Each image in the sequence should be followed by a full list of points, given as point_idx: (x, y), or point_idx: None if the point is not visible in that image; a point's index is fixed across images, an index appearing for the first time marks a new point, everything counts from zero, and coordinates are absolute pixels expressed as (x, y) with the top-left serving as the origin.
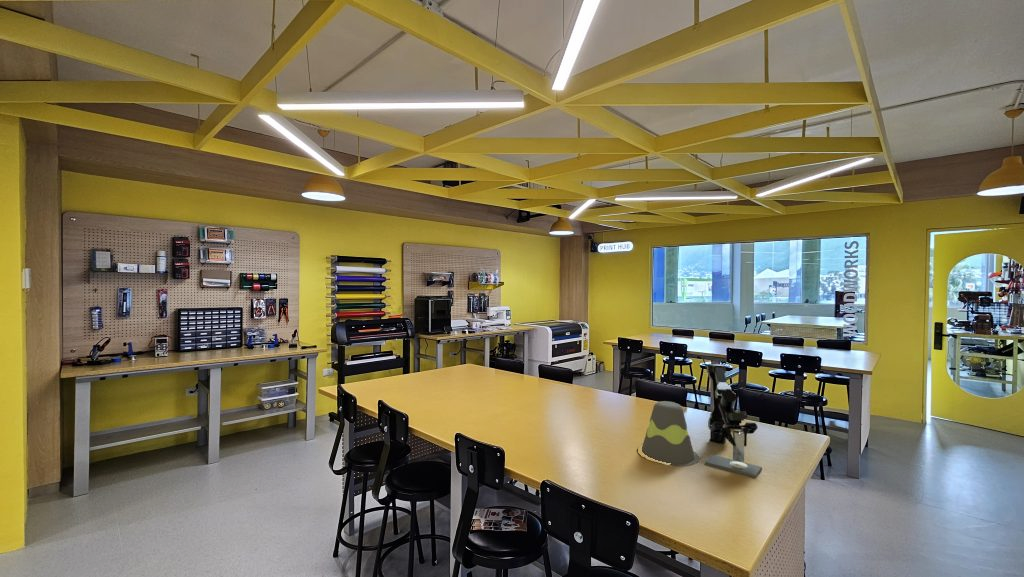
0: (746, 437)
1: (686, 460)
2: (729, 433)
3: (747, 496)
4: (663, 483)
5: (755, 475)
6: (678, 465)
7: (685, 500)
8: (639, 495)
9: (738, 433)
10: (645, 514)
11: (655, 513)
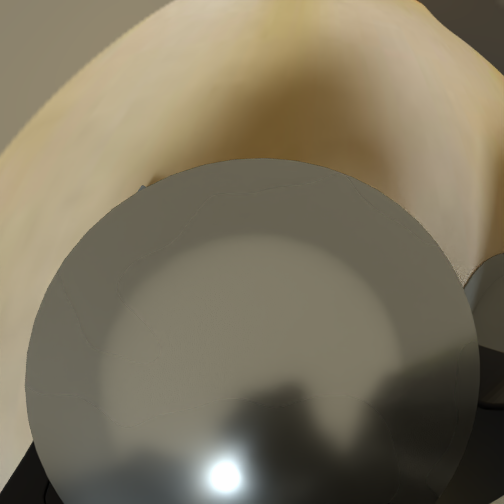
0: None
1: (485, 306)
2: (488, 374)
3: (254, 35)
4: (476, 114)
5: (143, 186)
6: (493, 259)
7: (410, 40)
8: (478, 72)
9: (333, 233)
10: (441, 25)
11: (432, 23)
